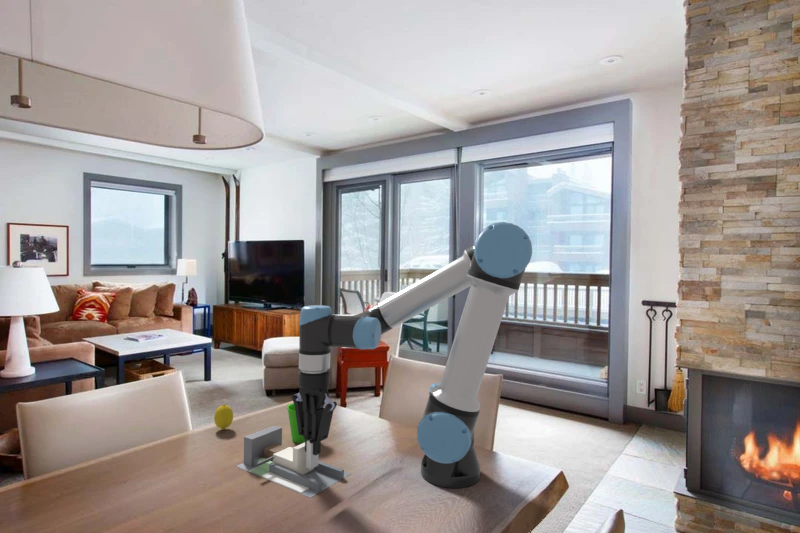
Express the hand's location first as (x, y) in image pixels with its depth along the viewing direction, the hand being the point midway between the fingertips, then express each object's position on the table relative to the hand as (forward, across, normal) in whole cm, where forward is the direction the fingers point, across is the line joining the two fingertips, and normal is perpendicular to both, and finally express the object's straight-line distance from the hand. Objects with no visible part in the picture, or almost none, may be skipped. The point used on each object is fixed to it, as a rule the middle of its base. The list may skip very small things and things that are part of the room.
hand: (312, 466), depth 110 cm
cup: (+4, +19, -15) cm, 24 cm away
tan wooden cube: (+3, +13, 0) cm, 13 cm away
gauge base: (+4, +7, 0) cm, 8 cm away
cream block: (+2, +7, +3) cm, 7 cm away
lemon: (+4, +46, -8) cm, 47 cm away
